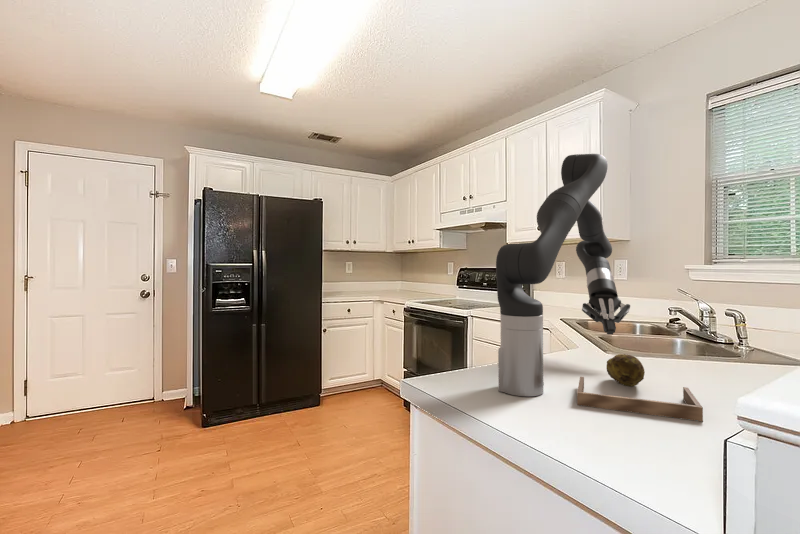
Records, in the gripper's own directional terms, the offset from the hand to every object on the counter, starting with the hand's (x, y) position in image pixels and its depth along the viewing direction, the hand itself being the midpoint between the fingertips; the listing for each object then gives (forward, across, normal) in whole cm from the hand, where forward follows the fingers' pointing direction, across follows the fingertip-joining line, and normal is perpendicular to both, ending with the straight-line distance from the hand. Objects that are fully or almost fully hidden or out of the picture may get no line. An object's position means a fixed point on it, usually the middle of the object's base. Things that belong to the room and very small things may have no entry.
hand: (610, 332), depth 110 cm
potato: (+19, 0, -4) cm, 19 cm away
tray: (+27, -2, -13) cm, 30 cm away
